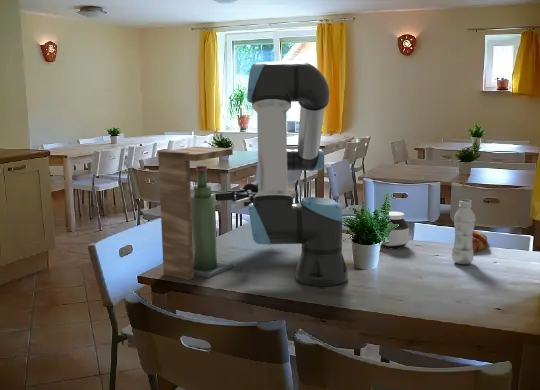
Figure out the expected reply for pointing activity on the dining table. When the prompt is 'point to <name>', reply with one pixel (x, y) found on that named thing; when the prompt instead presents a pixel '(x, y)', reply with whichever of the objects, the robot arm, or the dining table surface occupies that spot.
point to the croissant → (479, 241)
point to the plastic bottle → (463, 233)
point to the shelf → (179, 206)
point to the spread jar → (398, 231)
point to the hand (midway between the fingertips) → (218, 203)
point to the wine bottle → (203, 224)
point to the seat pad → (213, 270)
